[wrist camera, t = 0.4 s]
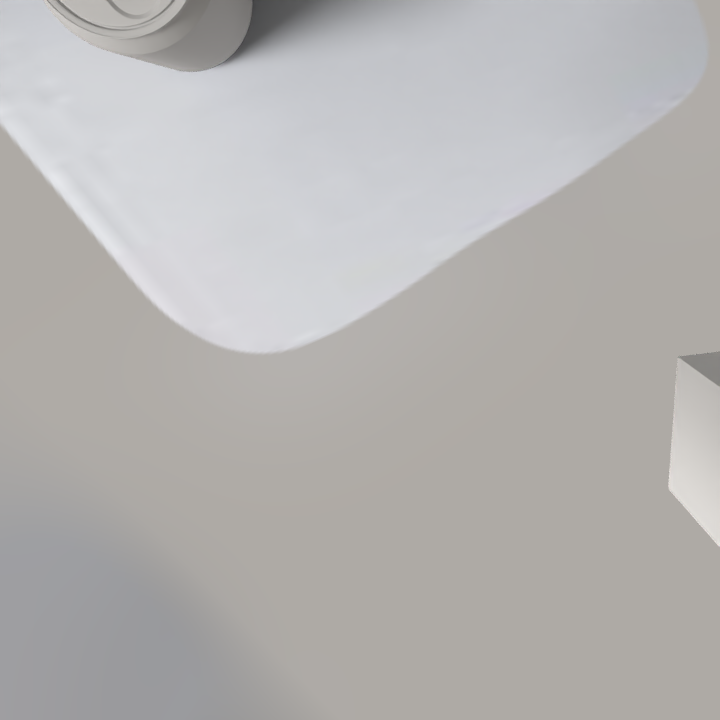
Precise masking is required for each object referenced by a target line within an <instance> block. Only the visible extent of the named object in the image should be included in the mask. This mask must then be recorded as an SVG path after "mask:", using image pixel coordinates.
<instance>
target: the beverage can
mask: <svg viewBox="0 0 720 720" xmlns="http://www.w3.org/2000/svg"><path fill="white" fill-rule="evenodd" d="M43 1H44V2H45V4H46V5H47V7H48V8H49V9H50V11H51V12H52V13H53V14H54V16H55V17H56V18H57V19H58V20H59V21H60V22H61V23H62V24H63V25H64V26H65V27H66V28H67V29H69V30H70V31H71V32H72V33H74V34H75V35H76V36H78V37H79V38H81V39H82V40H84V41H86V42H88V43H89V44H91V45H94V46H96V47H98V48H101V49H103V50H106V51H110V52H113V53H117V54H120V55H124V56H128V57H131V58H135V59H138V60H142V61H146V62H149V63H153V64H156V65H160V66H163V67H167V68H171V69H174V70H179V71H186V72H197V71H203V70H207V69H210V68H213V67H215V66H217V65H219V64H221V63H222V62H224V61H226V60H227V59H228V58H229V57H230V56H231V55H232V54H233V53H234V52H235V51H236V50H237V49H238V47H239V46H240V44H241V43H242V41H243V40H244V38H245V36H246V33H247V31H248V28H249V25H250V21H251V16H252V5H253V0H43Z"/></svg>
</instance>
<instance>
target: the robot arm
mask: <svg viewBox="0 0 720 720" xmlns="http://www.w3.org/2000/svg"><path fill="white" fill-rule="evenodd" d="M672 432H673V433H672V445H671V459H670V472H669V486H668V488H669V490H670V491H671V492H672V493H673V494H674V496H675V497H676V498H677V499H678V500H679V501H680V502H681V503H682V505H683V506H684V507H685V508H686V509H687V510H688V511H689V513H690V514H691V515H692V516H693V517H694V518H695V519H696V521H697V522H698V523H699V524H700V525H701V526H702V527H703V529H704V530H705V531H706V532H707V533H708V534H709V535H710V536H711V538H712V539H713V540H714V541H715V542H716V543H717V545H718V546H719V547H720V352H714V353H705V354H696V355H689V356H680V357H678V362H677V375H676V389H675V404H674V417H673V430H672Z"/></svg>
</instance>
